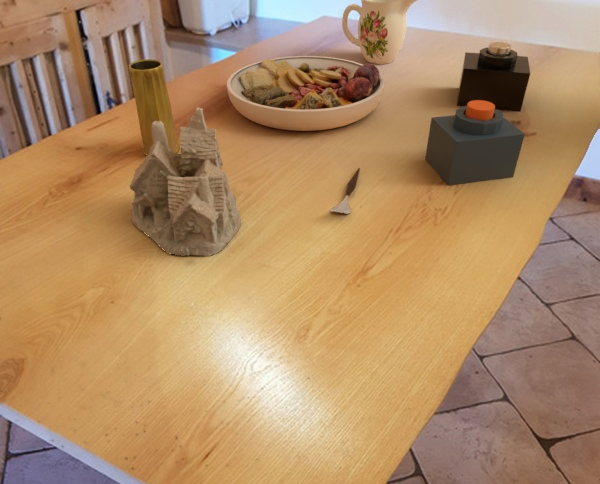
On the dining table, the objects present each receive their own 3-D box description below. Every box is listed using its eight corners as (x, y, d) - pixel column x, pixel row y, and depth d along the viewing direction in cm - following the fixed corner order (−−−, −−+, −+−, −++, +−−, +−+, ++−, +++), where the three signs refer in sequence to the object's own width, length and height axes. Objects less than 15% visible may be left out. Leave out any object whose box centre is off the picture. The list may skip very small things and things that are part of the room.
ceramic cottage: (148, 188, 84) (128, 93, 73) (253, 201, 82) (248, 104, 71) (105, 253, 73) (75, 152, 62) (225, 269, 71) (215, 167, 60)
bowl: (223, 140, 97) (219, 95, 92) (233, 80, 119) (230, 42, 114) (392, 136, 97) (397, 92, 92) (370, 78, 120) (373, 39, 115)
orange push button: (484, 110, 84) (487, 98, 83) (497, 120, 81) (500, 108, 80) (460, 112, 84) (462, 101, 83) (472, 123, 81) (475, 111, 80)
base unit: (518, 93, 113) (530, 46, 107) (520, 111, 105) (533, 63, 99) (458, 88, 115) (467, 42, 109) (456, 106, 108) (465, 58, 102)
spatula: (367, 172, 88) (368, 160, 86) (345, 225, 76) (345, 212, 75) (351, 170, 88) (352, 158, 87) (327, 222, 77) (327, 209, 75)
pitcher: (351, 47, 137) (354, -15, 128) (419, 57, 130) (428, -8, 121) (331, 59, 130) (333, -6, 121) (402, 71, 123) (410, 3, 114)
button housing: (485, 152, 92) (498, 99, 86) (513, 177, 86) (528, 122, 80) (424, 159, 91) (433, 106, 85) (447, 186, 84) (458, 129, 78)
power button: (508, 52, 106) (511, 42, 104) (509, 58, 103) (511, 48, 101) (487, 50, 106) (489, 41, 105) (487, 57, 103) (489, 47, 102)
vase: (151, 162, 91) (133, 73, 81) (138, 148, 95) (119, 62, 85) (185, 152, 93) (171, 66, 84) (171, 139, 97) (156, 55, 88)
